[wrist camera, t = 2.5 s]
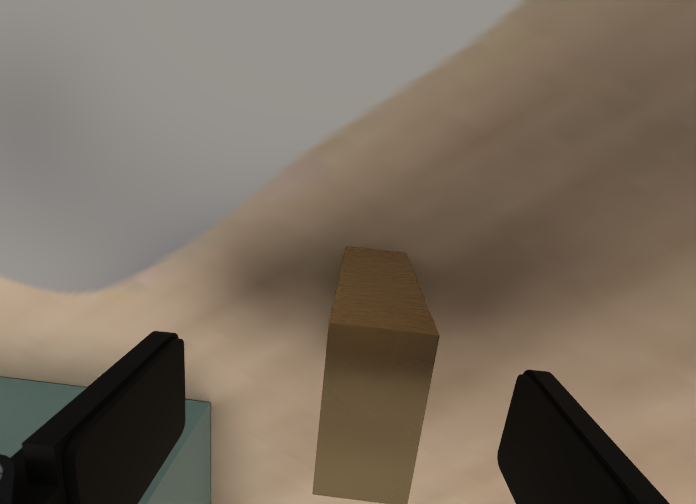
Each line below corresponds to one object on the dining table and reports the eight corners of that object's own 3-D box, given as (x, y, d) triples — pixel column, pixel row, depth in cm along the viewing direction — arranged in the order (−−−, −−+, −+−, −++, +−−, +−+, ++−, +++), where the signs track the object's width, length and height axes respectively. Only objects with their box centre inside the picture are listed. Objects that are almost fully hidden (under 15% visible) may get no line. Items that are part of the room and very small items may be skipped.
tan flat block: (405, 253, 15) (439, 335, 8) (389, 358, 16) (407, 506, 9) (346, 246, 15) (328, 322, 8) (335, 352, 16) (312, 494, 9)
